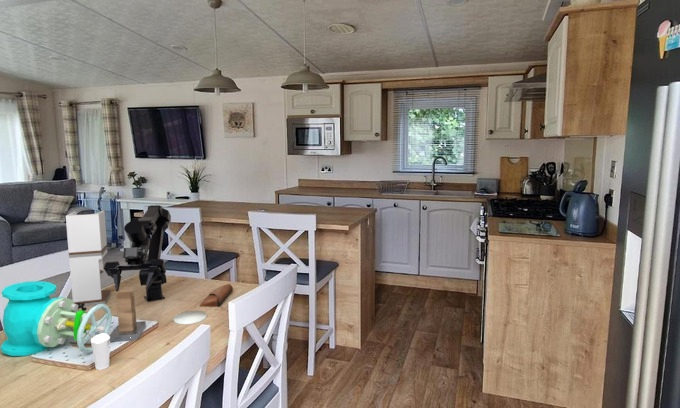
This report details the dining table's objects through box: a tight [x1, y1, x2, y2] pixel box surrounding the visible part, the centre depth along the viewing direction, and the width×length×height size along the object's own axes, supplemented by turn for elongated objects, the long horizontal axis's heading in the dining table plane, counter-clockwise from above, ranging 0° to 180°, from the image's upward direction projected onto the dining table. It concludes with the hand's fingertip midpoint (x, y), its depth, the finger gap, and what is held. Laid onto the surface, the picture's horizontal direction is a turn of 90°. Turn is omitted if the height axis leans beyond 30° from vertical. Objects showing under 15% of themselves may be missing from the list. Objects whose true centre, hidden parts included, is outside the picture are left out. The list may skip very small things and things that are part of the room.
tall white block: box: [65, 210, 112, 307], centre depth 160 cm, size 11×11×35 cm
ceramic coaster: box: [173, 310, 208, 326], centre depth 145 cm, size 11×11×1 cm
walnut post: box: [116, 289, 137, 331], centre depth 131 cm, size 4×4×12 cm
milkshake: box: [87, 331, 111, 371], centre depth 111 cm, size 5×5×10 cm
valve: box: [0, 280, 113, 357], centre depth 121 cm, size 14×18×30 cm
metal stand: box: [108, 320, 147, 343], centre depth 132 cm, size 10×8×2 cm
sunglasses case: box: [199, 283, 234, 308], centre depth 164 cm, size 18×7×7 cm
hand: (131, 290), depth 137 cm, fingers open, 9 cm apart
